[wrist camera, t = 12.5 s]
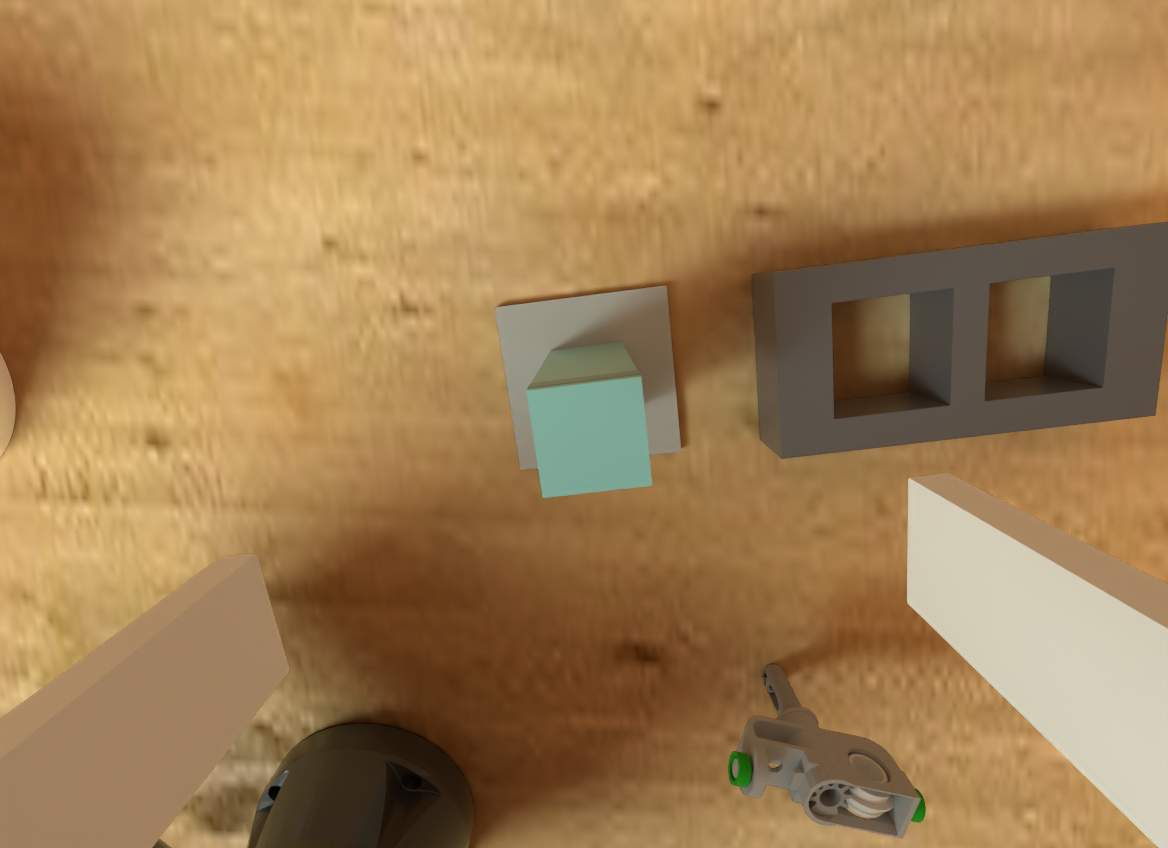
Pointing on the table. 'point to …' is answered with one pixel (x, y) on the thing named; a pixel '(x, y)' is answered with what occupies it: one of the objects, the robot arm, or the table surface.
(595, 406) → the plug
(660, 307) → the mat
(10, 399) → the canister
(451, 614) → the table surface
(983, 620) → the robot arm
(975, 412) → the cinder block
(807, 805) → the mechanical component
